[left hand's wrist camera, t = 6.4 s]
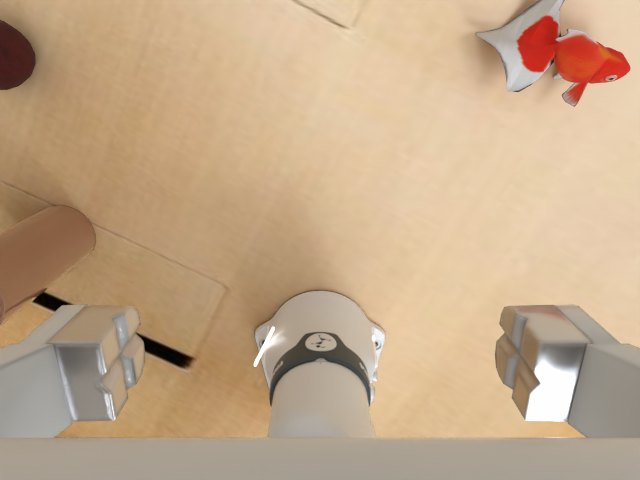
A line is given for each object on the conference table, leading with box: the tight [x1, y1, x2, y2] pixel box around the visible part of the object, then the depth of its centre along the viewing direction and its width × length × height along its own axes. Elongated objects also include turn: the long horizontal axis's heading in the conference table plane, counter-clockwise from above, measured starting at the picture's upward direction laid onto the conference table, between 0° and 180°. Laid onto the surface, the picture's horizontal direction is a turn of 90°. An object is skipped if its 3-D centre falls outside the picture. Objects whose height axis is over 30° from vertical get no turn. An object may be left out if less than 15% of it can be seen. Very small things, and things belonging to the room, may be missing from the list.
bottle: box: [0, 205, 96, 327], centre depth 49 cm, size 8×8×23 cm
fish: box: [475, 0, 630, 107], centre depth 48 cm, size 11×16×10 cm
